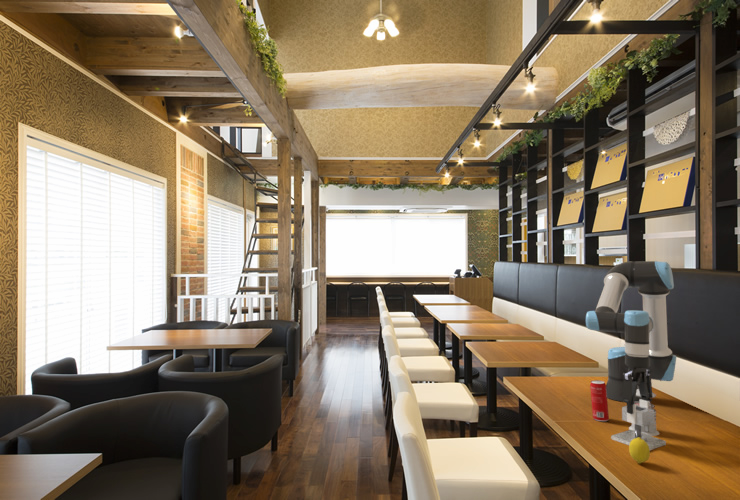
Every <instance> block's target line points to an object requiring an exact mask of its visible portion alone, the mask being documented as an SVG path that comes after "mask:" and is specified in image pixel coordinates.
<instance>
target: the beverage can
mask: <svg viewBox="0 0 740 500" xmlns="http://www.w3.org/2000/svg"><path fill="white" fill-rule="evenodd" d="M606 384H607V383H606V382H605V380H604V381H603V380H595V379H594V380H591V381H590V384H589V387H590V397H591V398H590V399H591V411H592V419H593V420H595V421H598V422H607V421H609V420H610V417H609V404H608V403H609V402H608V398H607V390H606Z"/></svg>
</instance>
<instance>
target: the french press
mask: <svg viewBox="0 0 740 500" xmlns="http://www.w3.org/2000/svg"><path fill="white" fill-rule="evenodd" d="M636 396H638V397H641V396H640V392H639V389H637V392H636ZM652 396H653V397H652V398H651V399H653V398H655V397H657V394H656V393H654V392H653V391H652ZM634 404H636V405H639V402H634ZM648 404H649V408H650V409H653V410H654V423H651V424H648V425H645V426H641V433H643V434H646V435H649V436H652V437H654V436H655V437H656V436H659V435H660V431H658V430H657V422H656V421H657V410H656V408H655V407H656V406H655V405H654V404H653V403H651V401H648ZM628 430H634V431H635V424H633V423H631V425H630V426H628Z"/></svg>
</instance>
